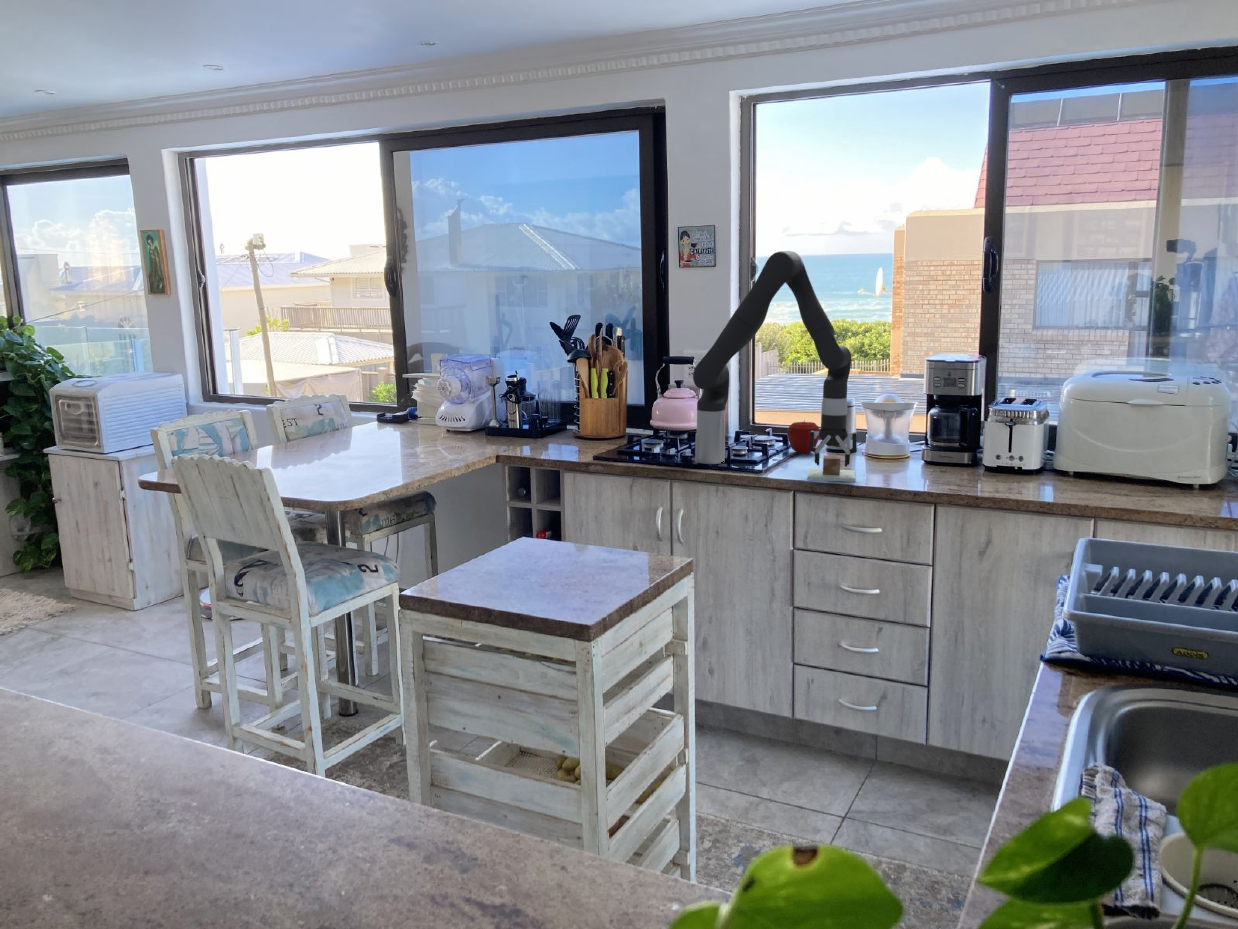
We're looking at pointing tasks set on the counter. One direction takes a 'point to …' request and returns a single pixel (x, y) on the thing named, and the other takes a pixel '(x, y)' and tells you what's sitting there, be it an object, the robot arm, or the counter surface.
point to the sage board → (818, 475)
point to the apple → (802, 436)
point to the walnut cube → (831, 465)
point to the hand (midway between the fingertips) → (831, 465)
